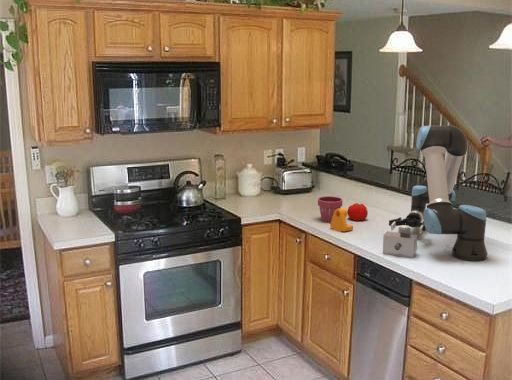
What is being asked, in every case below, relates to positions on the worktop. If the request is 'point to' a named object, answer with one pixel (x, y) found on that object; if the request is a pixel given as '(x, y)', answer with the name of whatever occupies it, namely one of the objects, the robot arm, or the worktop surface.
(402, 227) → the grey cylinder
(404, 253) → the grey toy camera
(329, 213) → the plant pot
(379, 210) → the worktop surface
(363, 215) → the tomato
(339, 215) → the bracket
